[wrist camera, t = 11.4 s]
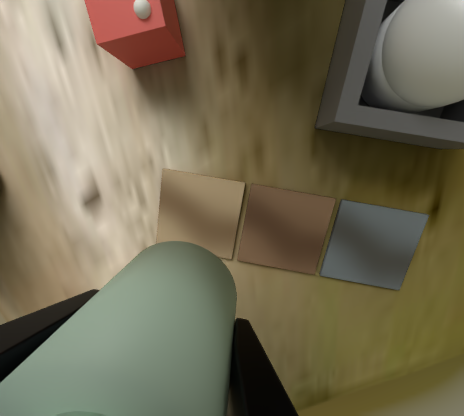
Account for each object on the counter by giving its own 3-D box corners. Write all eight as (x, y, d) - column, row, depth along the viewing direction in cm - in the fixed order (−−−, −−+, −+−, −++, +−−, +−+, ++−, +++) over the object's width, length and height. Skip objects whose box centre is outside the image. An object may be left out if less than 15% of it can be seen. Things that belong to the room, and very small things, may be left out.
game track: (164, 168, 18) (162, 168, 18) (426, 214, 18) (429, 215, 17) (157, 243, 20) (155, 245, 19) (397, 288, 19) (399, 290, 19)
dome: (372, 4, 14) (459, -99, 8) (472, 18, 14) (630, -76, 8) (344, 108, 16) (401, 82, 10) (434, 122, 15) (545, 105, 10)
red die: (115, 5, 16) (65, -51, 11) (171, -11, 15) (141, -75, 11) (132, 68, 17) (91, 40, 12) (185, 55, 16) (162, 21, 12)
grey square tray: (350, -22, 14) (388, -85, 11) (496, 0, 14) (590, -57, 10) (314, 128, 17) (334, 121, 13) (440, 149, 16) (499, 148, 13)
